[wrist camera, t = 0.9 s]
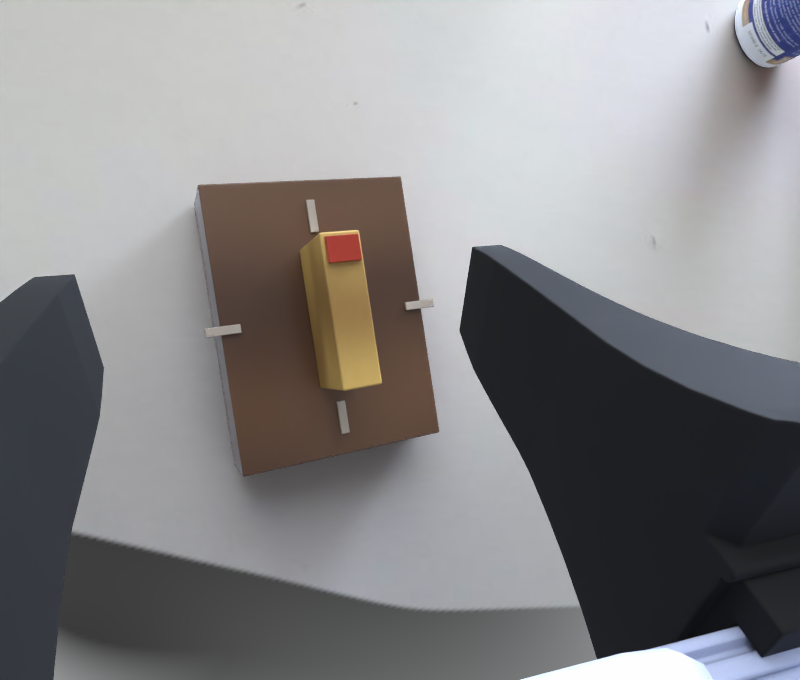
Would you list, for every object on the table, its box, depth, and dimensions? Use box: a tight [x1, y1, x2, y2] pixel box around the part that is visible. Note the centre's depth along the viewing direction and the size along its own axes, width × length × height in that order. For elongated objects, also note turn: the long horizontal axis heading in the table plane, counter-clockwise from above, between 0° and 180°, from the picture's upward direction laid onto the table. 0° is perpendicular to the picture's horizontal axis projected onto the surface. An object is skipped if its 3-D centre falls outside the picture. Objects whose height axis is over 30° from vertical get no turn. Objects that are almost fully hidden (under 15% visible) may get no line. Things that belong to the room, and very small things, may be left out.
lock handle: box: [300, 230, 382, 391], centre depth 24 cm, size 6×2×4 cm, turn 9°
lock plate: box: [194, 177, 439, 477], centre depth 27 cm, size 12×10×3 cm
